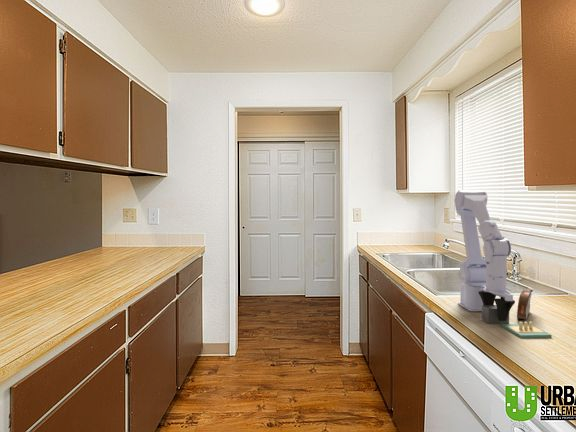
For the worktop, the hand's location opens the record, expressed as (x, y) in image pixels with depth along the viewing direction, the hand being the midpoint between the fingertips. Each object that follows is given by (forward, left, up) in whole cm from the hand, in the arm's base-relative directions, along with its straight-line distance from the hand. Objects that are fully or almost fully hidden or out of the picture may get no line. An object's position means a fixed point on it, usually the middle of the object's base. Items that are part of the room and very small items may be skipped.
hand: (495, 316), depth 116 cm
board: (+9, +4, -2) cm, 10 cm away
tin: (-5, +13, -2) cm, 14 cm away
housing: (0, 0, -2) cm, 2 cm away
